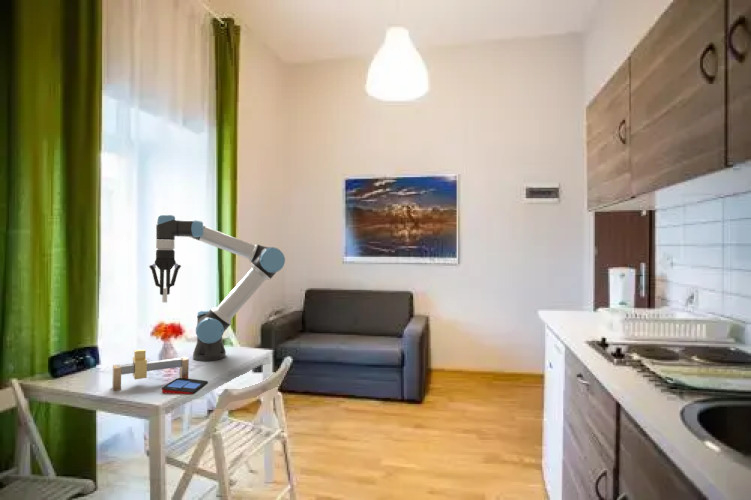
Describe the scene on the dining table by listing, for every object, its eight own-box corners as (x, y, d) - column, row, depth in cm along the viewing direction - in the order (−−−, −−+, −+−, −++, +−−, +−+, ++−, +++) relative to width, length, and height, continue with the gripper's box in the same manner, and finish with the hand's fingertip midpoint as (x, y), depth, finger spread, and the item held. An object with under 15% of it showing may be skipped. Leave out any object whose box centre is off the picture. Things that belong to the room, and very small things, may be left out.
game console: (193, 395, 163) (193, 389, 163) (159, 394, 163) (159, 388, 163) (208, 383, 177) (209, 377, 177) (177, 382, 178) (177, 376, 178)
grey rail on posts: (185, 376, 184) (185, 356, 184) (188, 379, 180) (188, 358, 180) (112, 387, 169) (112, 364, 169) (113, 391, 165) (113, 367, 164)
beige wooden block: (143, 373, 176) (144, 347, 176) (146, 377, 170) (147, 351, 170) (132, 374, 173) (133, 349, 173) (134, 379, 168) (135, 352, 168)
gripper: (179, 249, 203) (178, 300, 203) (147, 249, 196) (147, 301, 196) (182, 249, 197) (182, 302, 197) (150, 249, 189) (149, 303, 190)
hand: (164, 302), depth 197 cm, fingers closed
